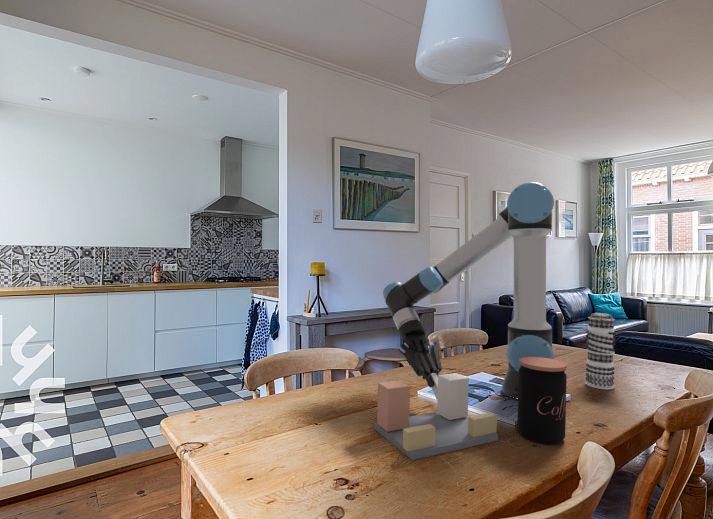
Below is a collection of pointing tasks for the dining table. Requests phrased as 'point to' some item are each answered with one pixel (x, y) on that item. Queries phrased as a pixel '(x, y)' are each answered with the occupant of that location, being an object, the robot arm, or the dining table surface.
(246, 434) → the dining table surface
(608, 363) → the white patterned cylinder
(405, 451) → the board
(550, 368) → the coffee jar
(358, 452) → the dining table surface
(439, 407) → the cream key
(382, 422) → the terracotta key
